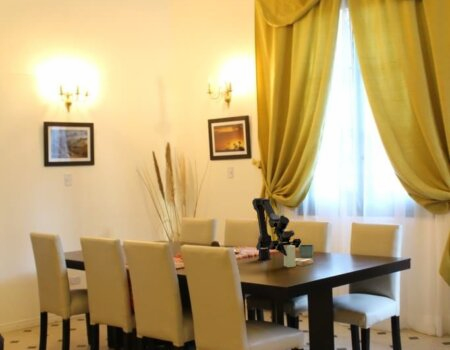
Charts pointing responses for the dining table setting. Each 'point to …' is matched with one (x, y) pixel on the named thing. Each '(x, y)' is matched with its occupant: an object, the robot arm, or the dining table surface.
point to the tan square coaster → (303, 261)
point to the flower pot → (306, 251)
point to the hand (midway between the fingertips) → (290, 255)
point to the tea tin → (289, 256)
